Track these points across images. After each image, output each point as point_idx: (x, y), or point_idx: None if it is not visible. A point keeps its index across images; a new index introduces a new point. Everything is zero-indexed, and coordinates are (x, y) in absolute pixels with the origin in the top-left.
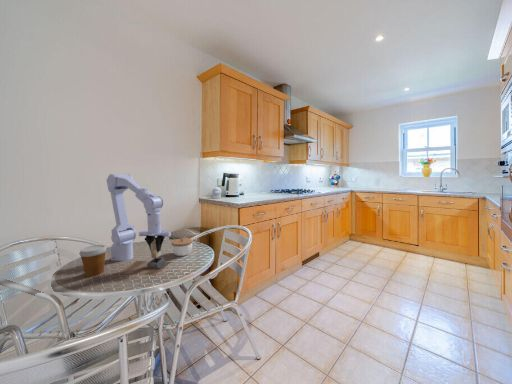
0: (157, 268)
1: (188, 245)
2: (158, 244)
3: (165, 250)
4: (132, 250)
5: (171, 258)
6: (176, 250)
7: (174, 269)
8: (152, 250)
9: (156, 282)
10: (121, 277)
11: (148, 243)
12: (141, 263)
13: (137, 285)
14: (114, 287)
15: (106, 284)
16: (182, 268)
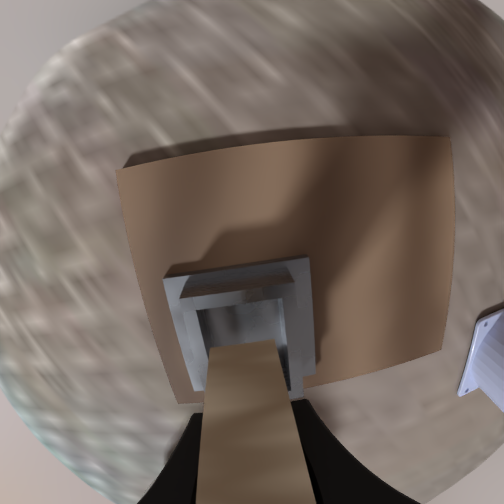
0: (184, 274)
1: None
2: (145, 501)
3: None
4: (497, 395)
5: None
6: None
7: (81, 311)
8: (265, 409)
9: (70, 98)
10: (393, 108)
11: (367, 491)
12: (392, 328)
13: (175, 24)
14: None
15: (398, 21)
16: (50, 331)
